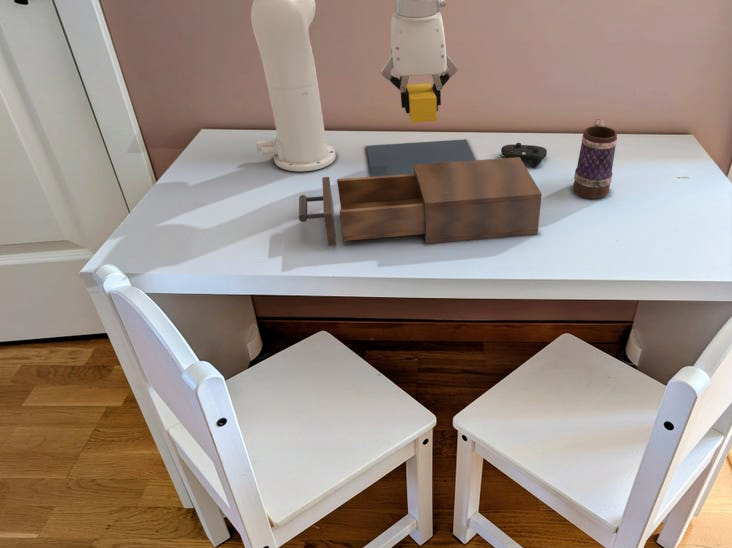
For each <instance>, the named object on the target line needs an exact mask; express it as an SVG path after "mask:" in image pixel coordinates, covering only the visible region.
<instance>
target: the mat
mask: <svg viewBox="0 0 732 548" xmlns="http://www.w3.org/2000/svg"><path fill="white" fill-rule="evenodd" d="M366 153H367V158H368V164H369V170H370V175H371V176H370V177H375V176H389V175H403V174H414V165H415V164H429V163H444V162H458V161H473V160H476V157H475V155H474V154H473V151H472V149H471V147H470V144H469V143H468V140H467V139H451V140H449V139H448V140H435V141H420V142H405V143H403V142H402V143H389V144H387V143H386V144H373V145H366Z"/></svg>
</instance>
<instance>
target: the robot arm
mask: <svg viewBox="0 0 732 548" xmlns="http://www.w3.org/2000/svg"><path fill="white" fill-rule="evenodd" d="M394 2H395V3H394V4H395V13H393V14H391V20H390V56H389V57H388V59H387V61H386V62H385V64H384V65H383V67H381V70H380V73H381V77H383V78H384V79H386V80H387V81H389V82H390V83H391V84H392V85H393V86H394V87H396V89H398V90H399V92H400V104H401V105H400V106H401V109H402V108H403V109H404V110H405V114H408V115H409V113H410V108H409V92H408V89H407V85H408V83H409V77H420V76H421V77H422V76H423V77H424V76H431V78H432V81H433V83H432V86H431V87H432V89H433V92H434V93H435V96H436V103H437V112H439V106H441V105H442V98H441V97H442V95H441V93H442V89H443V87H444V86H445V85H446V84H447V83H448V81H450V79H451V78H452V77H453V76H454V75H455V74H456V73H457V72H458V71H459V67H458V66H457V65H456V63H455V62H454V61H453V60H452V58H451V57H450V56H449V55H448V53H447V47H446V45H447V44H446V34H445V28H444V22H443V16H442V13H441V12H440V11H439V10H440V9H441V8H445V7H446V6H447V4H446V3H447V1H446V0H394ZM316 9H317V8H316V0H253V1H252V6H251V9H250V19H251V20H250V21H251V26H252V31H253V35H254V38H255V41H256V44H257V47H258V51H259V54H260V59H261V62H262V68H263V72H264V77H265V83H266V86H267V91H268V96H269V100H270V106H271V111H272V117H273V121H274V126H275V132H276V138H271V140H256V143H255V144H256V150H257V152H262V155H270V154H271V155H272V154H273V162H274V164H275V165H276V166H277V167H279V168H280V169H282V170H285V171H290V172H312V171H317V170H320V169H323V168H326V167H328V166H329V165H331V164H333V163H334V161H335V160H336V158H337V154H336V150H335V149H334V147H333V146H331V145H329V144H327V137H326V130H325V124H324V117H323V109H322V103H321V95H320V89H319V88H320V87H319V81H318V75H317V68H316V63H315V56H314V53H313V48H312V44H311V40H310V39H311V38H310V34H309V33H310V32H309V28H310V25H311V24H312V22H313V20H314V19H315V16H316V15H315V14H316ZM392 70H393V71H394V73H395V74H393V73H392ZM396 75H397V76H396ZM398 76H399V78H398Z"/></svg>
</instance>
